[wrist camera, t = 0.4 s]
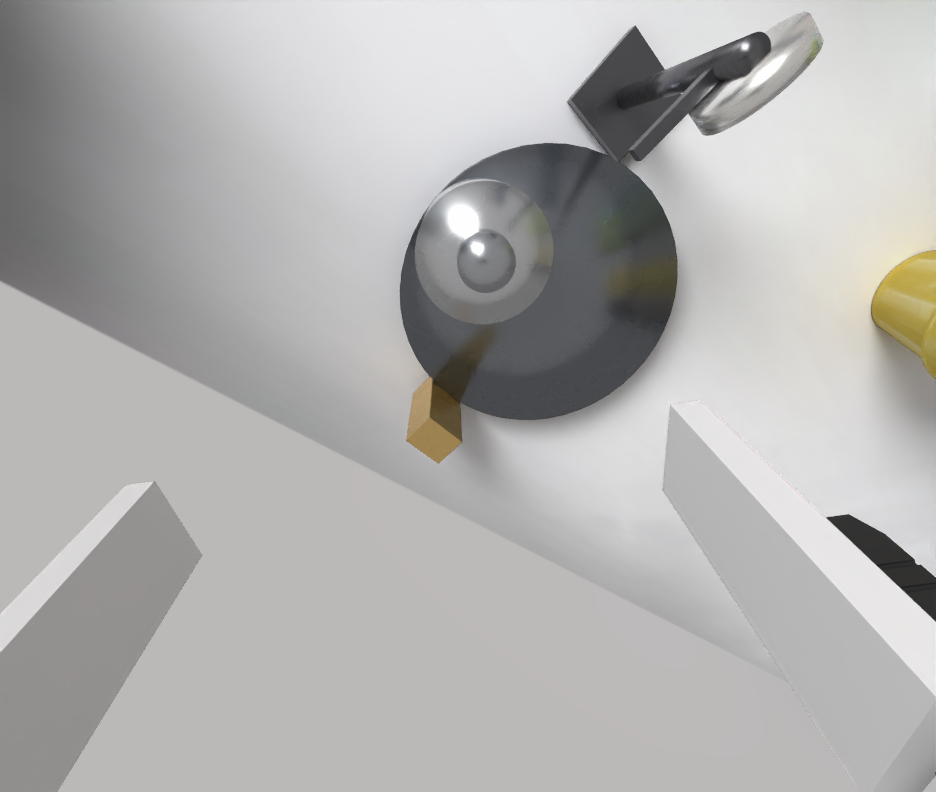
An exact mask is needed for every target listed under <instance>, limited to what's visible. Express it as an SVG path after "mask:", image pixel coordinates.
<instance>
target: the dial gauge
mask: <svg viewBox="0 0 936 792" xmlns="http://www.w3.org/2000/svg"><path fill="white" fill-rule="evenodd" d="M822 45H823V38H822V36H821V34H820V32H819V30H818V28H817V26H816V24H815V22H814V20H813V18H812V16H811V14H810V13H809V12H801V13H798V14H796V15H794V16H792V17H790V18H788V19H786V20H784V21H782V22H781V23H779V24H777V25H776V26H774V27H773V28H771V29H770V30H768V31H767V32H765V33H763V32H756V33H753V34H750V35H748V36H746V37H743V38H741V39H738V40H736V41H734V42H731V43H729V44H726V45H724V46H722V47H719V48H717V49H714V50H712V51H710V52H707V53H705V54H702V55H700V56H698V57H695V58H693V59H690V60H688V61H686V62H683V63H681V64H678V65H676V66H674V67H671V68H669V69H666V70H665V69H664V68H663V66H662V65H661V63H660V62H659V60H658V59H657V57H656V56H655V54H654V53H653V51H652V50H651V48H650V47H649V45H648V44H647V42H646V41H645V39H644V38H643V36H642V35H641V33H640V32H639V30H638V29H637V27H636V26H634V27H632V28H631V29H630V30H629V31H628V32H627V33H626V34H625V35H624V36H623V37H622V39H621V40H620V41H619V42H618V43H617V44H616V46H615V47H614V48H613V49H612V50H611V51H610V52H609V54H608V55H607V56H606V57H605V58H604V59H603V60H602V62H601V63H600V64H599V65H598V66H597V67H596V69H595V70H594V71H593V72H592V73H591V74H590V75H589V77H588V78H587V79H586V80H585V81H584V82H583V83H582V85H581V86H580V87H579V88H578V89H577V90H576V92H575V93H574V94H573V95H572V96H571V97H570V98H569V100H568V101H567V102H568V103H569V105H570V106H571V107H572V108H573V110H574V111H575V112H576V114H577V115H578V116H579V117H580V119H581V120H582V121H583V122H584V124H585V125H586V126H587V128H588V129H589V130H590V131H591V133H592V134H593V135H594V137H595V138H596V139H597V140H598V142H599V143H600V144H601V145H602V147H603V148H604V149H605V151H606V152H607V153H608V154H609V156H610V157H611V158H612V159H614V160H616V161H618V162H619V161H620V160H621V159H622V158H623V157H624V156H625V155H626V154H627V153H628V152H630V154H631V155H632V156H633V158H634V159H635V160H636V161H641V160H642V159H643V158H644V157H645V156H646V155H647V154H648V153H649V152H650V151H651V150H652V149H653V148H654V147H655V146H656V145H657V144H658V143H659V142H660V141H661V140H662V139H663V138H664V137H665V136H666V135H667V134H668V133H669V132H670V131H671V130H672V129H673V128H674V127H675V126H676V125H677V124H678V123H679V122H680V121H681V120H682V119H683V118H684V117H685V116H686V115H687V114H688V113H689V115H690V117H691V118H692V120H693V121H694V123H695V124H696V126H697V127H698V129H699V130H700V132H701V133H702V134H703V135H705V136H709V135H714V134H717V133H720V132H722V131H724V130H726V129H728V128H730V127H732V126H734V125H736V124H738V123H739V122H741V121H743V120H744V119H746V118H747V117H749V116H750V115H752V114H753V113H755V112H756V111H758V110H759V109H760V108H762V107H763V106H764V105H766V104H767V103H768V102H770V101H771V100H772V99H773V98H775V97H776V96H777V95H778V94H780V93H781V92H782V91H783V90H784V89H785V88H787V87H788V86H789V85H790V84H791V83H792V82H793V81H794V80H795V79H796V78H797V77H798V76H799V75H800V74H801V73H802V72H803V71H804V70H805V69H806V68H807V67H808V66H809V65H810V63H811V62H812V61H813V60H814V58H815V57H816V56H817V54H818V53H819V51H820V49H821V47H822ZM681 93H683V94H682V95H681Z"/></svg>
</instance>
